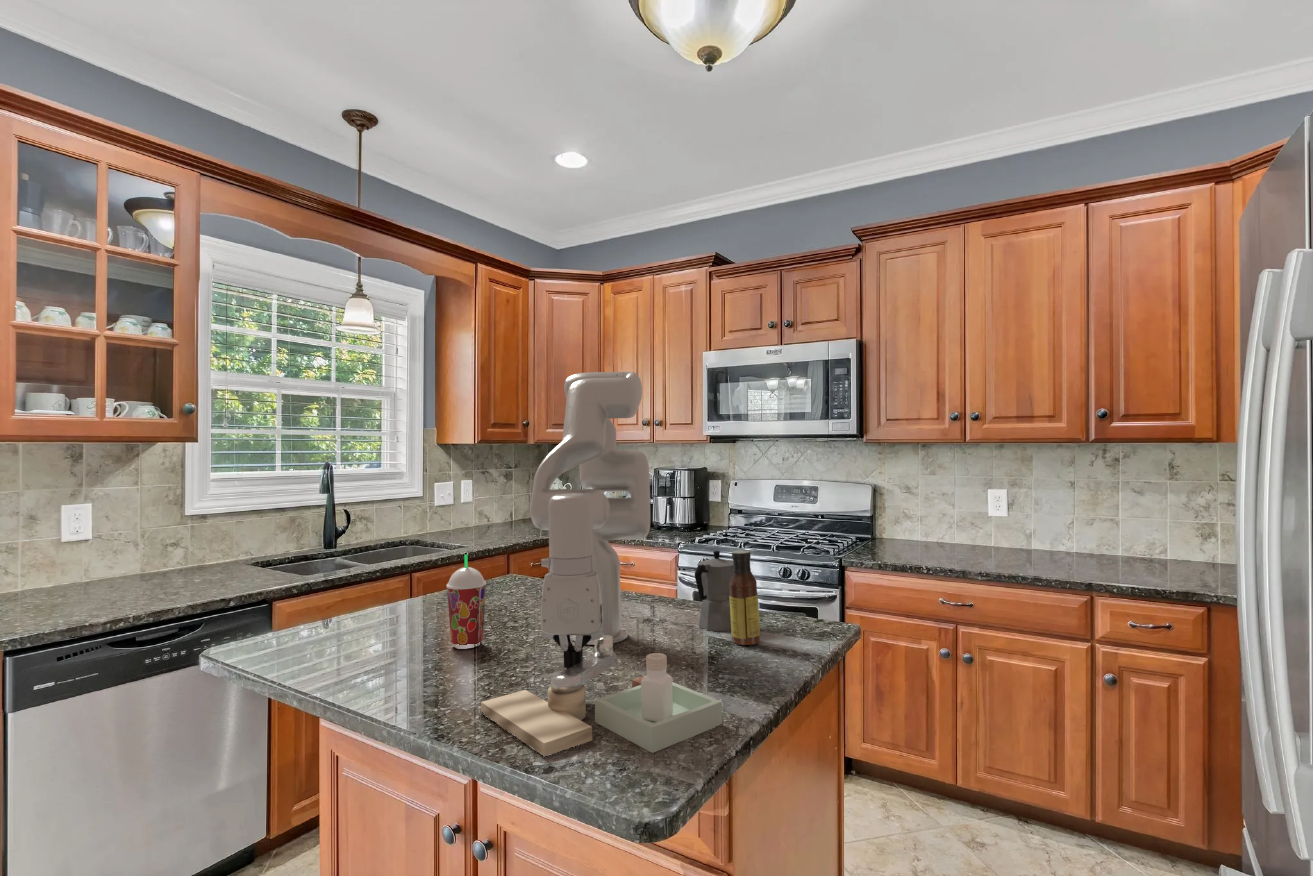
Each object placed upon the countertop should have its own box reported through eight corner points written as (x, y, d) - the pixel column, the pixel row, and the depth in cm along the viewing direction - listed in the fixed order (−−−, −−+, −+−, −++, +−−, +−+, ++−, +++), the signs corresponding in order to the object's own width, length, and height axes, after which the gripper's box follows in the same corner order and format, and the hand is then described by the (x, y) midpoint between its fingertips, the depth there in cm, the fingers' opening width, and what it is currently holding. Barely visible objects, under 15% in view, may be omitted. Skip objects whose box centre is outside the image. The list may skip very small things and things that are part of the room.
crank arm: (570, 695, 101) (570, 663, 101) (544, 690, 103) (544, 659, 103) (620, 665, 115) (620, 636, 115) (596, 661, 117) (596, 633, 117)
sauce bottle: (759, 638, 145) (757, 549, 145) (761, 647, 138) (759, 553, 139) (729, 638, 145) (728, 549, 146) (730, 646, 139) (728, 553, 139)
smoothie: (494, 642, 145) (493, 552, 146) (472, 653, 137) (470, 558, 138) (462, 639, 148) (461, 551, 148) (439, 650, 140) (437, 557, 140)
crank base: (481, 714, 105) (480, 687, 105) (614, 675, 123) (613, 652, 123) (544, 757, 90) (543, 726, 90) (686, 706, 107) (685, 679, 107)
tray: (595, 722, 102) (594, 699, 102) (662, 698, 111) (662, 678, 111) (652, 753, 91) (651, 727, 91) (722, 724, 100) (721, 701, 100)
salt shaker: (640, 720, 100) (639, 658, 100) (651, 710, 104) (650, 650, 104) (663, 724, 98) (662, 661, 98) (674, 714, 102) (673, 653, 102)
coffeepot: (716, 617, 163) (715, 545, 164) (749, 623, 157) (747, 548, 158) (680, 631, 151) (678, 554, 151) (714, 638, 145) (712, 557, 146)
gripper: (522, 570, 109) (524, 679, 109) (610, 570, 107) (612, 681, 108) (535, 561, 117) (537, 663, 117) (617, 561, 115) (619, 665, 115)
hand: (573, 671), depth 112 cm, fingers closed
